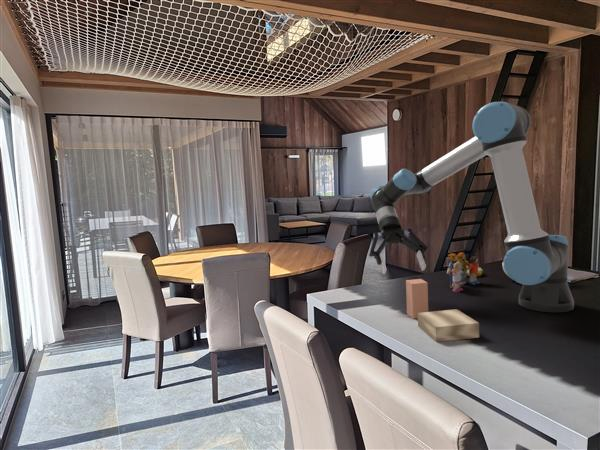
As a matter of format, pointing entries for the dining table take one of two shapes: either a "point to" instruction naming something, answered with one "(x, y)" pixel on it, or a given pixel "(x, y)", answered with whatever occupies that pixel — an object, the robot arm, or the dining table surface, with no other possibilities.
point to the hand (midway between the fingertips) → (404, 270)
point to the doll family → (462, 270)
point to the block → (416, 297)
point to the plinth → (448, 325)
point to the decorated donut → (476, 274)
